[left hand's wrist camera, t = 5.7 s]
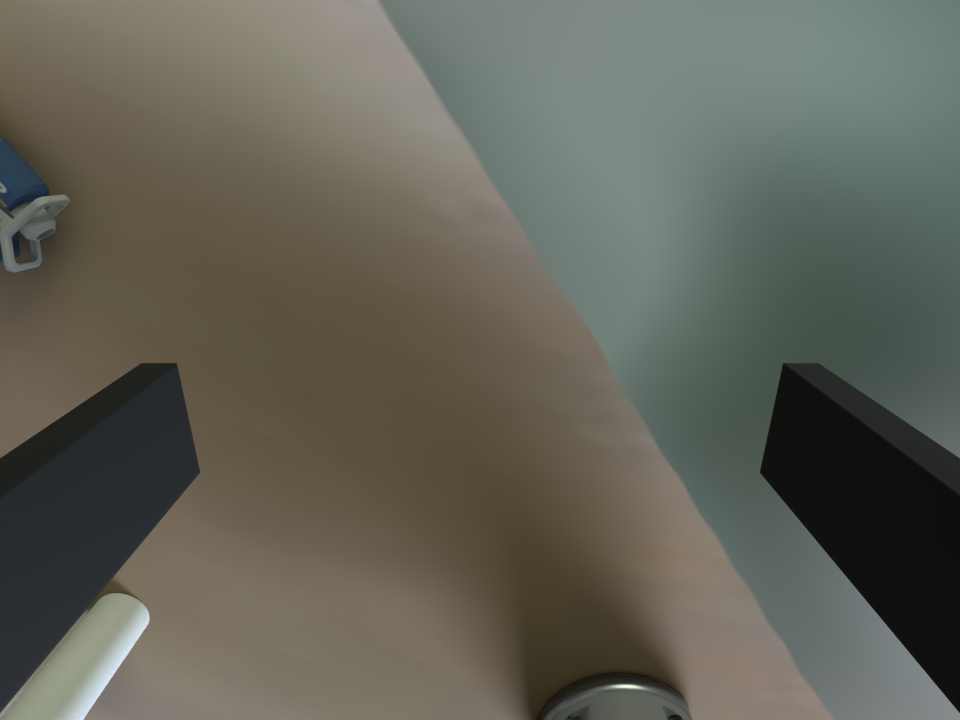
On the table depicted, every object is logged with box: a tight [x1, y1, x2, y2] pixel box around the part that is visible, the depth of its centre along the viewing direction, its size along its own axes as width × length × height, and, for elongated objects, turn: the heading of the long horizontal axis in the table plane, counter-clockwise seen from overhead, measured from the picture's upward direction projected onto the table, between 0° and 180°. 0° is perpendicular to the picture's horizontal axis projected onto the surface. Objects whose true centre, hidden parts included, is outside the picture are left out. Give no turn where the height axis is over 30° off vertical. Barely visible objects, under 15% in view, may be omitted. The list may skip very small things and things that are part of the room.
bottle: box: [0, 593, 149, 720], centre depth 42 cm, size 5×5×19 cm
